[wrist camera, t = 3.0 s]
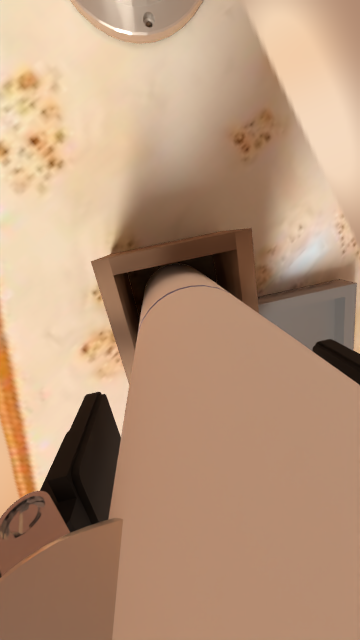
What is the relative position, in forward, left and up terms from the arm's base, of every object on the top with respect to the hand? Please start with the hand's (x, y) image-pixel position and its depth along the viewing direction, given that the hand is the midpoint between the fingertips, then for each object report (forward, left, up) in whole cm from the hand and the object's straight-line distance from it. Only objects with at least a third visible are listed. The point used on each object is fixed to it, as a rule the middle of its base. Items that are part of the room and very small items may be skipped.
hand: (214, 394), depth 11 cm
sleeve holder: (-1, 0, -17) cm, 17 cm away
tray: (+9, +13, -17) cm, 23 cm away
